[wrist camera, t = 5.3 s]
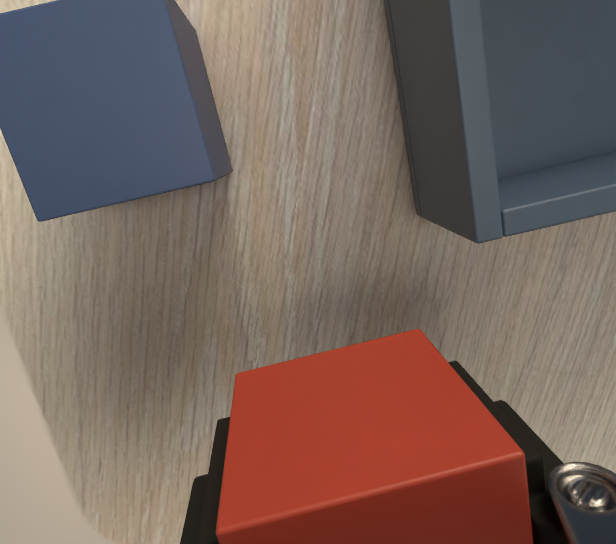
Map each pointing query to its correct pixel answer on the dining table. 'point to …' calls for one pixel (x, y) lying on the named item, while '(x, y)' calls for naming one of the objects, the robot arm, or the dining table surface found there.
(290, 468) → the red block
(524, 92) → the slate bin
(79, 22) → the blue block
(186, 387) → the dining table surface
